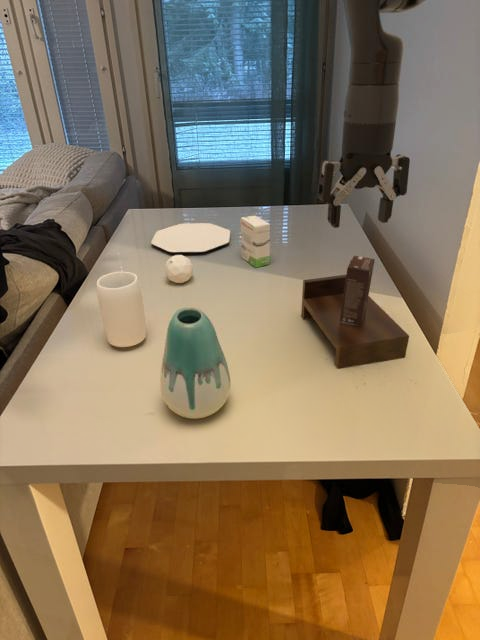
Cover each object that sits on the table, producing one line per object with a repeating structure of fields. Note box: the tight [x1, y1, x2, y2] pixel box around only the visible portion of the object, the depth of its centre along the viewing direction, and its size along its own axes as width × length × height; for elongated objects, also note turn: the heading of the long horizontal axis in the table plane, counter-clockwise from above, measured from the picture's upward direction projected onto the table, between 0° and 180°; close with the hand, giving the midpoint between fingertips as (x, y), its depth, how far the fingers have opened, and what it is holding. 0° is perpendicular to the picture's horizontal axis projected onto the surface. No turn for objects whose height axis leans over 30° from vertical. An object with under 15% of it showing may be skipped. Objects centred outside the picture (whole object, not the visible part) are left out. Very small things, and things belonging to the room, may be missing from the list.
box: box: [340, 255, 376, 326], centre depth 90 cm, size 6×4×12 cm
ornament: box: [164, 254, 194, 284], centre depth 118 cm, size 7×7×8 cm
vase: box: [159, 307, 231, 420], centre depth 75 cm, size 12×12×18 cm
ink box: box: [240, 215, 271, 268], centre depth 127 cm, size 9×5×12 cm, turn 27°
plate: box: [150, 222, 231, 254], centre depth 144 cm, size 24×24×2 cm
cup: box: [96, 271, 147, 348], centre depth 93 cm, size 8×8×14 cm
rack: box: [300, 274, 410, 370], centre depth 95 cm, size 14×20×9 cm
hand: (358, 223), depth 77 cm, fingers open, 8 cm apart
